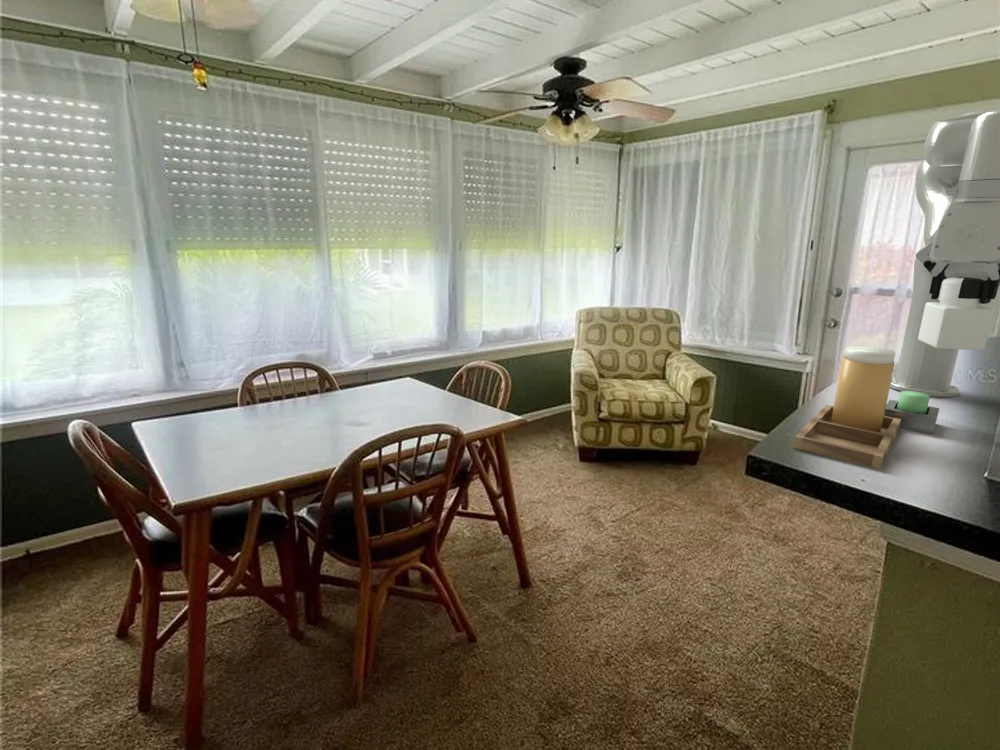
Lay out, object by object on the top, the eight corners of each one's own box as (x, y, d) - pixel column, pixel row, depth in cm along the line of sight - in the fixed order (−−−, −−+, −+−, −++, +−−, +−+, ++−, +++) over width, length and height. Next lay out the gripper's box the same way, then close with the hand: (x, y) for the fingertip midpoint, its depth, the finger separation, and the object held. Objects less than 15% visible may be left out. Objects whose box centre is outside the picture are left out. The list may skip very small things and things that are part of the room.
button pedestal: (885, 420, 96) (889, 399, 94) (934, 429, 91) (939, 408, 90) (879, 430, 90) (884, 408, 89) (930, 441, 86) (936, 418, 85)
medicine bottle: (962, 342, 96) (978, 276, 93) (984, 350, 90) (1003, 280, 86) (916, 340, 98) (930, 275, 95) (935, 348, 92) (951, 279, 88)
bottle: (821, 422, 91) (834, 345, 87) (860, 421, 91) (875, 345, 88) (848, 437, 84) (864, 355, 81) (890, 436, 84) (908, 355, 81)
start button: (897, 411, 93) (901, 389, 92) (925, 416, 90) (930, 394, 89) (894, 416, 90) (899, 394, 89) (923, 422, 87) (928, 399, 86)
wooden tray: (823, 420, 95) (826, 404, 95) (897, 435, 88) (901, 419, 87) (792, 454, 80) (794, 436, 80) (878, 476, 73) (882, 456, 72)
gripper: (914, 194, 92) (893, 297, 97) (1052, 189, 78) (1019, 309, 83) (931, 195, 96) (910, 294, 101) (1065, 190, 82) (1033, 304, 87)
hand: (960, 299), depth 92 cm, fingers closed on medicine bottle, 6 cm apart
